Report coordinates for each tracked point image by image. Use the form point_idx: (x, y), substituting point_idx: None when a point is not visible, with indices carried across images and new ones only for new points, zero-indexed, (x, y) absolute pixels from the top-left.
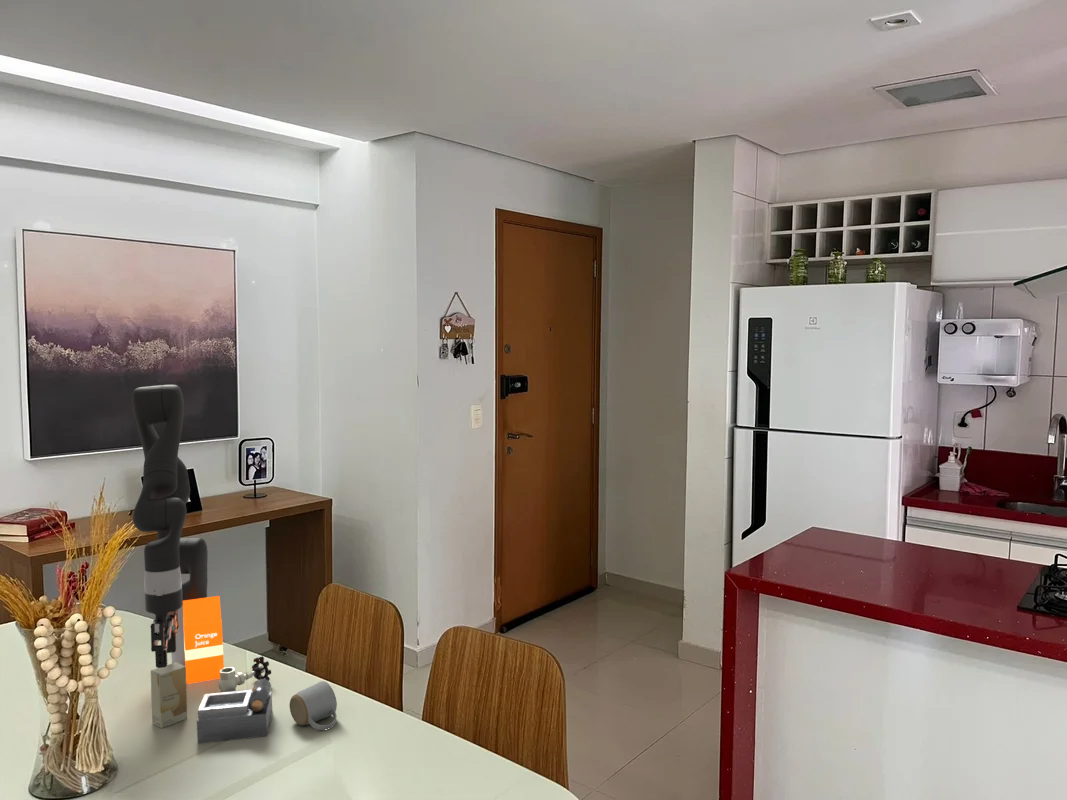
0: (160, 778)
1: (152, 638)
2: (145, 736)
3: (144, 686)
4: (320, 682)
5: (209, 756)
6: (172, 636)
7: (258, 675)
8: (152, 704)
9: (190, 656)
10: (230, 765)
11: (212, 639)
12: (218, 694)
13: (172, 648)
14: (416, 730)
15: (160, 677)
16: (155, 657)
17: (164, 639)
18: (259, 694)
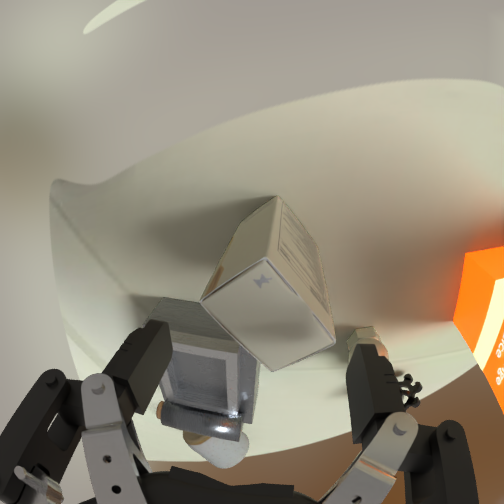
0: (72, 248)
1: (14, 425)
2: (210, 191)
3: (489, 159)
4: (224, 465)
5: (124, 312)
6: (360, 436)
7: (401, 383)
8: (267, 212)
9: (497, 297)
10: (105, 333)
11: (497, 366)
12: (227, 375)
13: (351, 380)
14: (182, 456)
15: (202, 295)
16: (129, 350)
17: (71, 453)
18: (169, 426)
